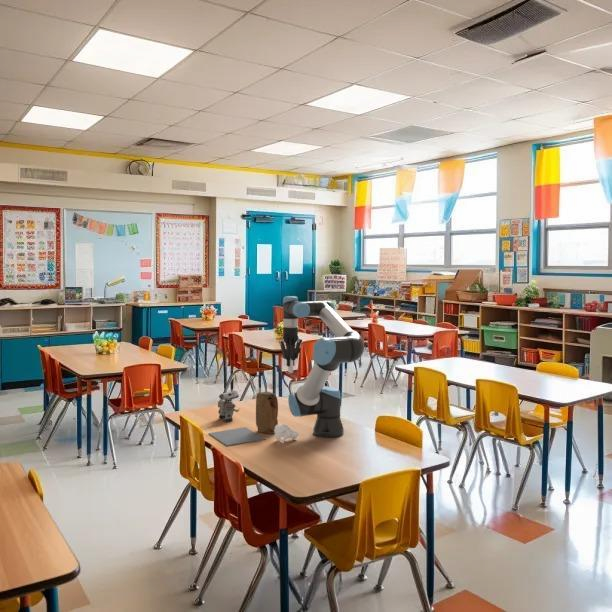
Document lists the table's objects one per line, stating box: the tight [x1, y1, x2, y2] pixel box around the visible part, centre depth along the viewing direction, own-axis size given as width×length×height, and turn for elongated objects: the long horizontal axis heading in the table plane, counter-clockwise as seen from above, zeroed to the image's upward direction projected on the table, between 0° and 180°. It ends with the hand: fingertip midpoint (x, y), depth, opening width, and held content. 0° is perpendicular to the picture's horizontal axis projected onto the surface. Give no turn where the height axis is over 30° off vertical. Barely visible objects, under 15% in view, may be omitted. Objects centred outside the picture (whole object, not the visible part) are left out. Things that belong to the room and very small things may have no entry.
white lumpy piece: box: [274, 423, 299, 444], centre depth 286 cm, size 6×8×12 cm
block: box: [255, 391, 279, 434], centre depth 300 cm, size 11×8×20 cm
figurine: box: [217, 390, 241, 423], centre depth 323 cm, size 9×12×15 cm
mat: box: [208, 426, 266, 447], centre depth 292 cm, size 22×20×1 cm
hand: (290, 372), depth 306 cm, fingers closed
